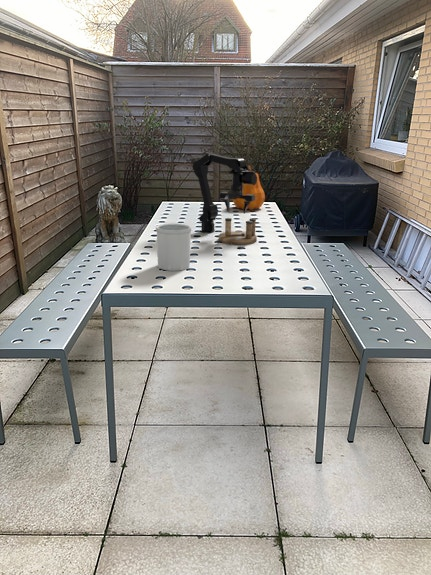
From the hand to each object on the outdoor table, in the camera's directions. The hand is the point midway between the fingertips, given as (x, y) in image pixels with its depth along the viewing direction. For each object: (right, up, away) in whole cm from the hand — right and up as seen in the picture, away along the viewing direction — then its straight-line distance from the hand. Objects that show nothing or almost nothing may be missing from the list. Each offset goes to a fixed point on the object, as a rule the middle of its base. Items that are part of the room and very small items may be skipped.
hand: (236, 212), depth 250 cm
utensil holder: (-29, -31, -49) cm, 65 cm away
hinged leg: (-1, -13, -5) cm, 14 cm away
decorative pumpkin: (+12, +17, +87) cm, 89 cm away
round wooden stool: (+1, -15, -3) cm, 16 cm away
